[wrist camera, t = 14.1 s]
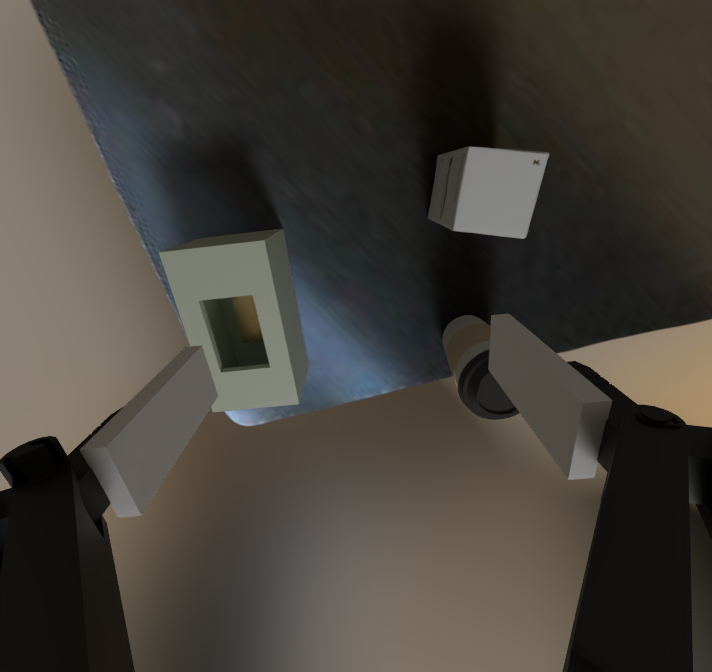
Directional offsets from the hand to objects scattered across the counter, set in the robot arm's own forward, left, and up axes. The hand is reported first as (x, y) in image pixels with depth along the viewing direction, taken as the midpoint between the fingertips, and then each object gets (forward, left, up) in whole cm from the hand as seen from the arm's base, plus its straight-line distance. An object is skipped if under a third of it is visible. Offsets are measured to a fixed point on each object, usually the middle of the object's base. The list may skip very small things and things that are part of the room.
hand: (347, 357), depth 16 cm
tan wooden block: (+7, -14, -31) cm, 35 cm away
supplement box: (-5, +14, -32) cm, 35 cm away
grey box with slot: (+7, -14, -32) cm, 35 cm away
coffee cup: (+15, +15, -32) cm, 38 cm away
